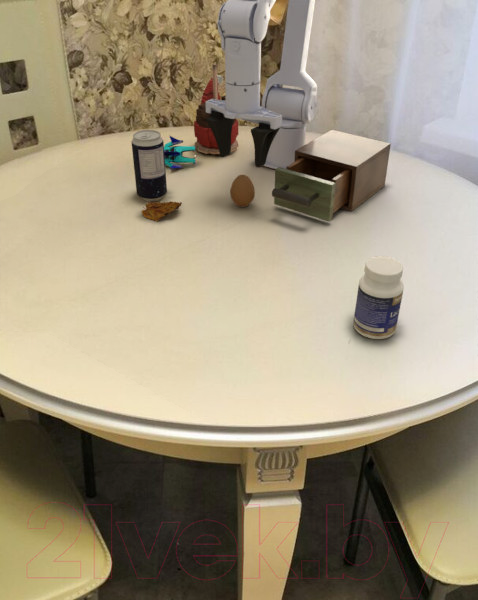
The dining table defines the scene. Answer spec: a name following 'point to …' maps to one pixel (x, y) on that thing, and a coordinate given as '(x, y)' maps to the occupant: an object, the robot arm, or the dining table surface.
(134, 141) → the beverage can
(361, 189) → the cabinet
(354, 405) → the dining table surface
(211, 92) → the cake
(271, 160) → the robot arm
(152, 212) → the leaf
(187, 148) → the figurine
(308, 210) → the drawer
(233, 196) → the egg
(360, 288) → the pill bottle
